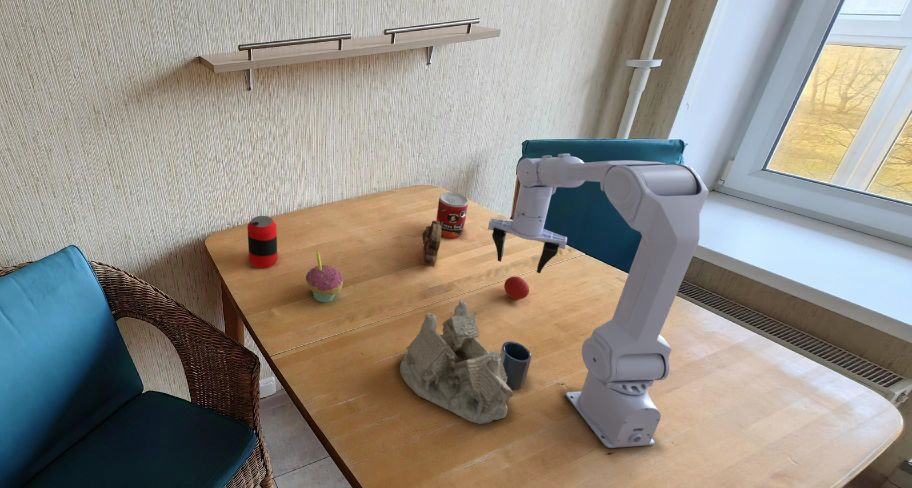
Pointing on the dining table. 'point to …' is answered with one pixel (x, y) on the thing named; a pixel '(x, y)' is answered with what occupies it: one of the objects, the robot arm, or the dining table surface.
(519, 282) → the ball
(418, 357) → the ceramic cottage
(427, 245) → the wooden carving
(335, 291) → the cupcake
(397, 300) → the dining table surface
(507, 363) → the cup
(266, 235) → the soda can
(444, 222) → the canned food
